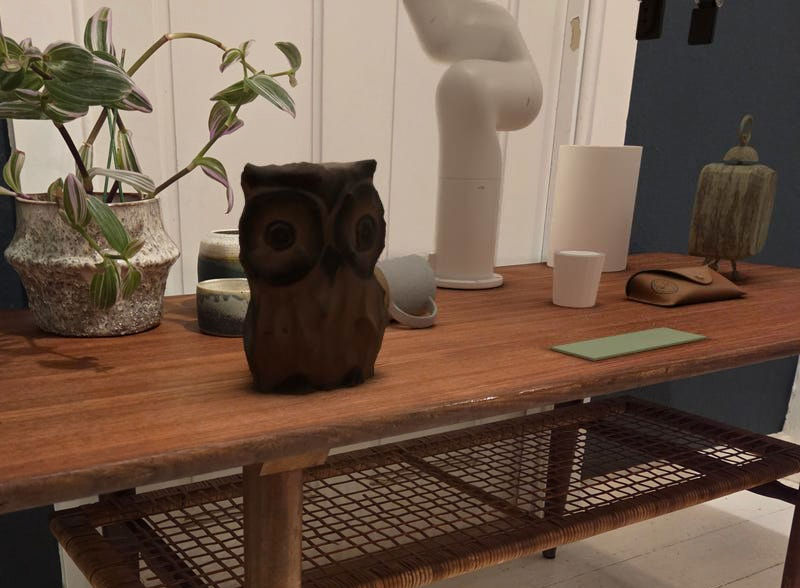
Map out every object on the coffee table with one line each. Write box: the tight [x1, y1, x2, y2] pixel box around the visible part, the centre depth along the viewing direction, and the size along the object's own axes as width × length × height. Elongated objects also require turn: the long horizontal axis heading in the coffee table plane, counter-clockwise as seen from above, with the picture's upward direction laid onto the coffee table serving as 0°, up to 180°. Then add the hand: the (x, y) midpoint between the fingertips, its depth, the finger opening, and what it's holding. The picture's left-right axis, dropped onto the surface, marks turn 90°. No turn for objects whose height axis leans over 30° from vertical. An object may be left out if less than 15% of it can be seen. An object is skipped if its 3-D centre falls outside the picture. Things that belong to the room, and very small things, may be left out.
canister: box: [546, 144, 643, 273], centre depth 153 cm, size 14×14×20 cm
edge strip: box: [550, 326, 708, 362], centre depth 100 cm, size 20×6×1 cm, turn 124°
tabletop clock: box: [687, 114, 779, 281], centre depth 140 cm, size 14×9×25 cm, turn 144°
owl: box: [237, 158, 391, 396], centre depth 80 cm, size 13×13×20 cm
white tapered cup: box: [552, 250, 605, 309], centre depth 122 cm, size 7×7×7 cm
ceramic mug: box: [374, 253, 438, 329], centre depth 109 cm, size 11×8×8 cm
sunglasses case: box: [624, 263, 749, 307], centre depth 128 cm, size 18×7×7 cm
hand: (674, 42), depth 105 cm, fingers open, 9 cm apart
